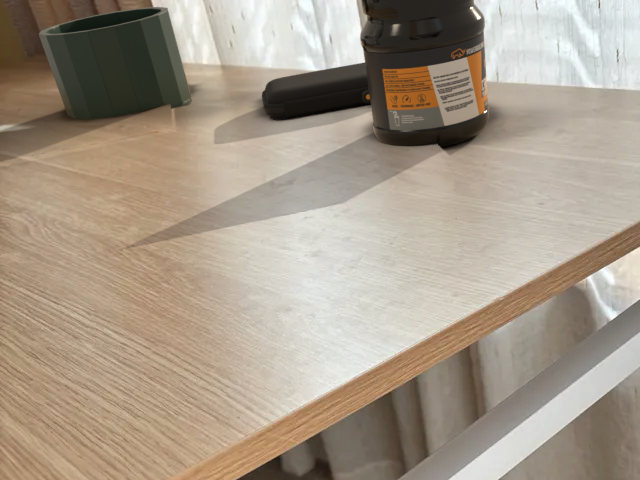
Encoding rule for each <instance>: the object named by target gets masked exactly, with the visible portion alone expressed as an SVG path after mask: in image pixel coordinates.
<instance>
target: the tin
mask: <svg viewBox="0 0 640 480" xmlns="http://www.w3.org/2000/svg"><path fill="white" fill-rule="evenodd" d="M38 36H39V39H40V43H41V45H42V49H43V51H44V53H45V57H46V59H47V62H48V64H49V67H50V70H51V72H52V76H53V78H54V81H55V84H56V87H57V89H58V92H59V95H60V98H61V101H62V103H63V106H64V109H65V111H66V114H67V116H68V117H69V118H73V119H76V120H97V119H105V118H114V117H115V118H116V117H121V116H127V115H131V114H136V113H141V112H145V111H148V110H151V109H156V108H159V107H162V106H165V105H168V104H170V109H171V110H172V109H176V108H182V107H187V106H189V105H190V104H191V103H192V100H193V98H192V95H191V91H190V87H189V83H188V79H187V75H186V72H185V67H184V64H183V61H182V56H181V52H180V49H179V44H178V42H177V38H176V34H175V31H174V27H173V23H172V19H171V15H170V12H169V9H168V7H164V6H163V7H162V6H151V7H149V6H148V7H138V8H131V9H124V10H117V11H111V12H106V13H100V14H96V15H91V16H90V15H89V16H87V17H86V16H85V17H82V18H78V19H73V20H70V21H65V22H62V23H59V24H55V25H52V26H49V27H46V28H45V29H42V30H41V31H40V32H39V33H38Z"/></svg>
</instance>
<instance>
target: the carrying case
mask: <svg viewBox="0 0 640 480" xmlns="http://www.w3.org/2000/svg"><path fill="white" fill-rule="evenodd" d="M264 87H265V88H264V90H263V91H262V93H261V100H262V105H263V106H262V107H263V111H264V112H265V114H266V115H267V116H269V117H271V119H272V120H274V121H283V120H288V119H289V120H290V119H294V118H301V117H305V116H310V115H311V116H312V115H317V114H321V113H327V112H332V111H338V110H344V109H349V108H354V107H361V106H366V105H371V102H370V95H369V87H368V80H367V73H366V66H365V61H364V62H360V63H354V64H349V65H343V66H342V65H341V66H336V67H332V68H331V67H329V68H325V69H319V70H314V71H309V72H304V73H298V74H292V75H288V76H282V77H278V78H274V79H272V80H269V81H268V82H267V83H266V85H265V86H264Z"/></svg>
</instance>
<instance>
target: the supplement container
mask: <svg viewBox="0 0 640 480" xmlns="http://www.w3.org/2000/svg"><path fill="white" fill-rule="evenodd" d="M360 3H361V9H362V10H361V11H362V14H364V15H365V16H366V21H365V23H364V25H363V27H362V29H361V31H360V33H359V40H360V45H361V47H362V51H363V58H364V62H365V66H366V73H367V80H368V87H369V95H370V102H371V104H370V107H371V108H370V109H371V116H372V128H373V133H374V135H375V137H376V140H378V141H379V142H380V143H382V144H385V145H390V146H396V147H397V146H398V147H419V146H429V145H438V147H440V148H443V146H444V147H448V145H449V146H452V144H453V145H456V144H459V142H460V143H461V142H462V143H463V142H466V141H468V140H470V139H472V138H475V137H476V136H478V135H479V134H480V133H481V132H482V131H483V130H484V129H485V128H486V126H487V125H488V122H489V119H490V107H489V103H488V101H489V100H488V99H489V98H488V83H487V66H486V65H487V64H486V46H485V29H486V19H485V16H484V14H483V12H482V11H481V10H480V9H479V8H478V6H477V5H476V4H475V0H360Z"/></svg>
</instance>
